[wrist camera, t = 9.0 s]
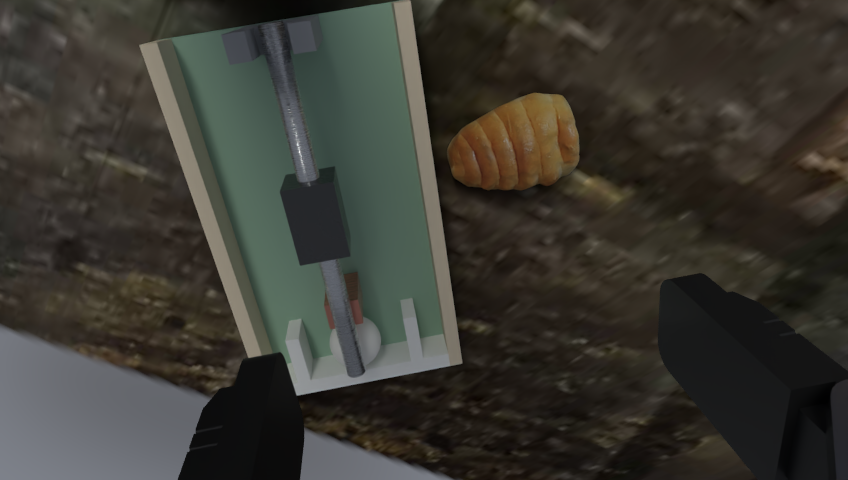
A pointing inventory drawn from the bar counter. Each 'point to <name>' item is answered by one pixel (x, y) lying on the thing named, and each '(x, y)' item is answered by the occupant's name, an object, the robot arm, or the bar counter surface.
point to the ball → (367, 339)
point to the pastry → (517, 145)
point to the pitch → (333, 146)
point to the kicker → (315, 204)
